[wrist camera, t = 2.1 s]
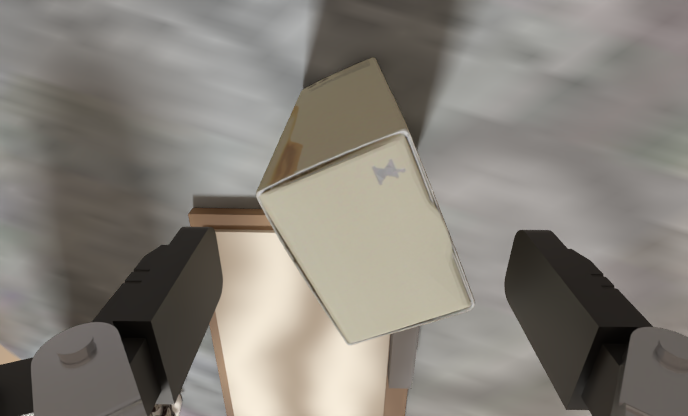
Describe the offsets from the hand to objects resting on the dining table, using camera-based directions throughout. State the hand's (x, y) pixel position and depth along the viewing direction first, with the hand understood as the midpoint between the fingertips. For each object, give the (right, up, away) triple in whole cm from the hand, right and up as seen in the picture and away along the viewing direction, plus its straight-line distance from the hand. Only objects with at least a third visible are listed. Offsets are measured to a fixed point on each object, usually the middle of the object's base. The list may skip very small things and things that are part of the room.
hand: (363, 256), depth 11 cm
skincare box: (0, +6, +11) cm, 13 cm away
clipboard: (-3, -8, +18) cm, 19 cm away
